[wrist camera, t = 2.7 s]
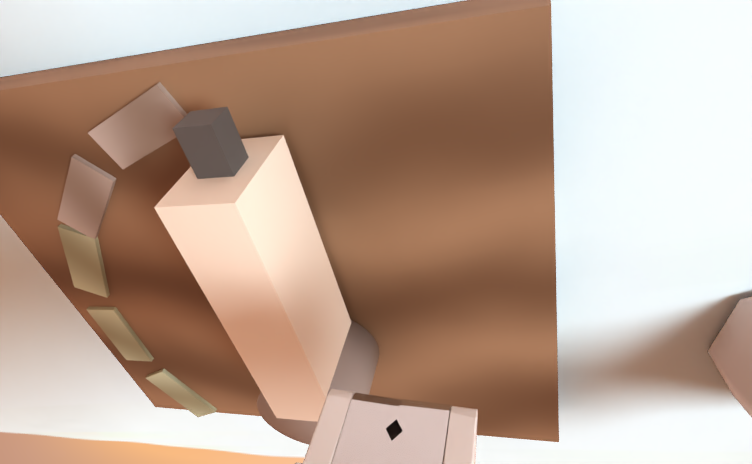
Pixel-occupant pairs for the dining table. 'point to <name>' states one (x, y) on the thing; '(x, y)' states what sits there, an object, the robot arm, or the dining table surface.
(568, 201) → the dining table surface
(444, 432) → the robot arm
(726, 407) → the dining table surface
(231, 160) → the peg lever
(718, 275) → the dining table surface
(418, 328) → the board
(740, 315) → the flask
